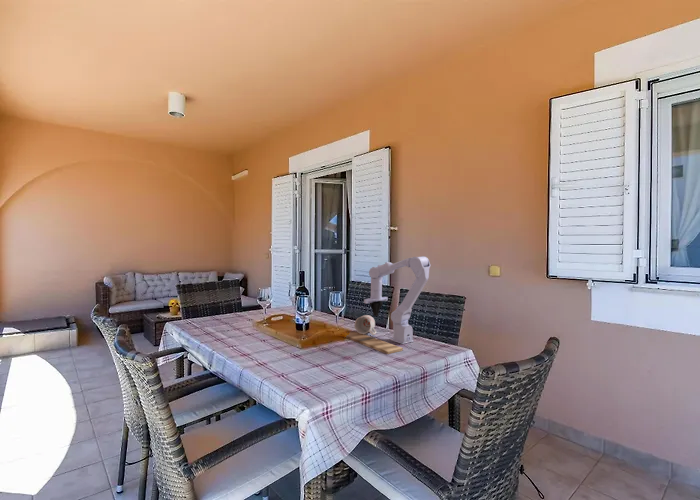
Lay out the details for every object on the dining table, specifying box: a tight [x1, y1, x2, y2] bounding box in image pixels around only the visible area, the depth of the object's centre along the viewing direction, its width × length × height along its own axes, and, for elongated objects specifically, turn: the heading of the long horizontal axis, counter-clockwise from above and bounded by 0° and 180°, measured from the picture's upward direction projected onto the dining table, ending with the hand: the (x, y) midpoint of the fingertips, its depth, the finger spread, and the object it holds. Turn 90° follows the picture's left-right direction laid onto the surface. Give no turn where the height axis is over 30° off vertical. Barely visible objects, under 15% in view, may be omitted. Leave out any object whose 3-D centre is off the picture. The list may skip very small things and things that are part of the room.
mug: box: [354, 314, 378, 337], centre depth 195 cm, size 12×9×11 cm
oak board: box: [359, 336, 404, 355], centre depth 172 cm, size 20×9×2 cm, turn 36°
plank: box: [345, 330, 374, 344], centre depth 187 cm, size 16×9×2 cm, turn 36°
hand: (375, 315), depth 191 cm, fingers closed
